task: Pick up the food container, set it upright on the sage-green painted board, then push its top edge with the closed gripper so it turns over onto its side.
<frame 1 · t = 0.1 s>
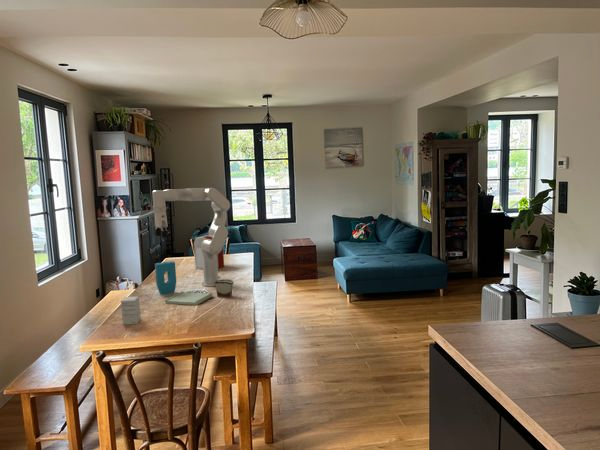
hand: (161, 236, 280), 37 cm above the table, tool pointing down, fingers open, 9 cm apart
food container: (226, 296, 273), on the table
block: (167, 293, 285), on the table
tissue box: (210, 268, 362), on the table
board: (189, 299, 268), on the table
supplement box: (131, 322, 230), on the table
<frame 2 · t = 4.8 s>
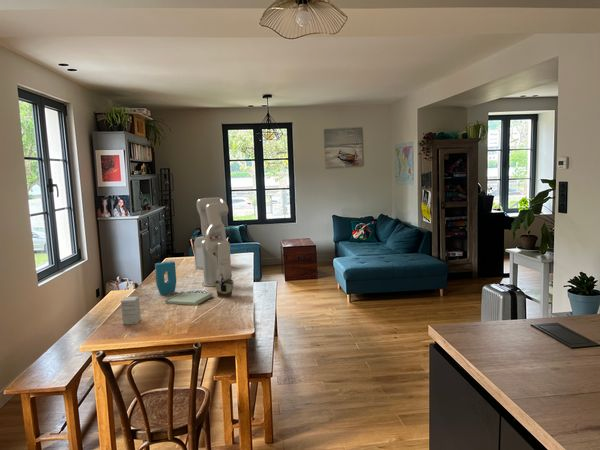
hand: (226, 289, 273), 4 cm above the table, tool pointing down, fingers closed on food container, 6 cm apart
food container: (226, 296, 273), on the table, touching gripper
everything else where it was.
when the fingers open (6 cm above the table, at t = 10.4 s): food container stays where it is, resting on board.
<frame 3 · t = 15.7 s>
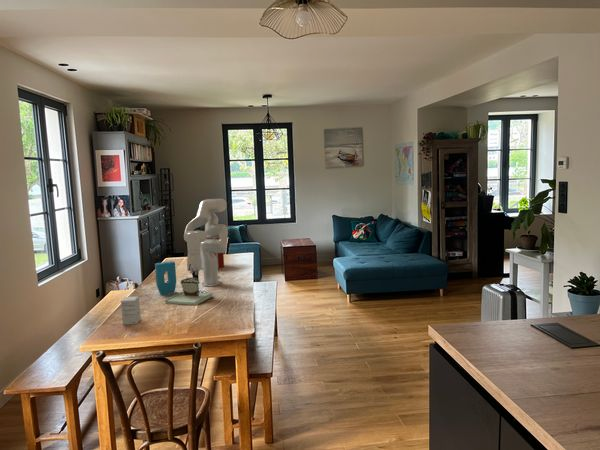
hand: (195, 281, 275), 9 cm above the table, tool pointing down, fingers closed
food container: (193, 294, 273), point 2 cm above the table, touching board, gripper
everything else where it was.
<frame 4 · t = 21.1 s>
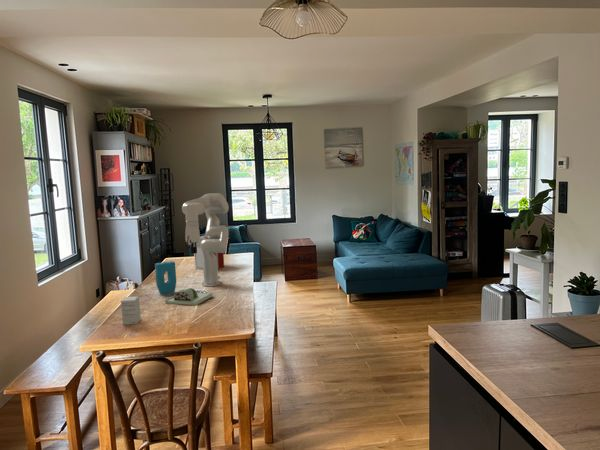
hand: (194, 253, 274), 27 cm above the table, tool pointing down, fingers closed
food container: (191, 291, 270), point 5 cm above the table, touching board
everything else where it was.
at the end: food container tilted 90°; food container inside the target area on the board (3.5 cm from its centre), point 4.6 cm above the board's base; the gripper is holding nothing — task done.
